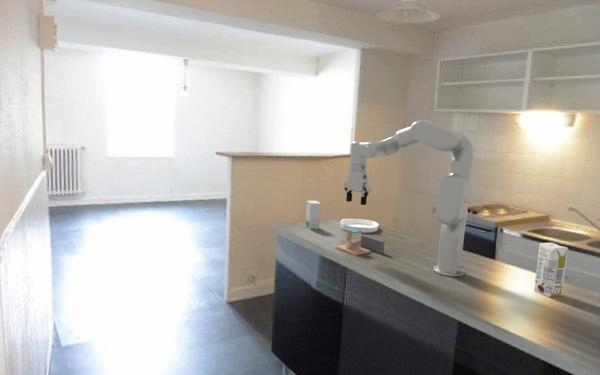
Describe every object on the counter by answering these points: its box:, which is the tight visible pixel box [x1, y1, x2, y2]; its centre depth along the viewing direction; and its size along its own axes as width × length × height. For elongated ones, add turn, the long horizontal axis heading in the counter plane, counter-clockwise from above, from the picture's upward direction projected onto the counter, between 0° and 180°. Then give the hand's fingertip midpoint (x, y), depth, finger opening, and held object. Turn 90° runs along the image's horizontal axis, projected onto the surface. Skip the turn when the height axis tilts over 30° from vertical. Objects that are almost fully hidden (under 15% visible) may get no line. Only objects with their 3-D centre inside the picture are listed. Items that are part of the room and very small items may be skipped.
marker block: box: [345, 229, 362, 250], centre depth 208 cm, size 5×5×9 cm
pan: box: [339, 218, 380, 234], centre depth 255 cm, size 24×27×4 cm
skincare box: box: [304, 200, 322, 230], centre depth 251 cm, size 8×7×16 cm
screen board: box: [361, 233, 385, 255], centre depth 214 cm, size 22×2×6 cm, turn 38°
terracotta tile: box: [335, 243, 371, 256], centre depth 209 cm, size 14×10×1 cm
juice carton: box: [533, 242, 569, 298], centre depth 161 cm, size 8×9×19 cm
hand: (356, 203), depth 205 cm, fingers open, 9 cm apart
